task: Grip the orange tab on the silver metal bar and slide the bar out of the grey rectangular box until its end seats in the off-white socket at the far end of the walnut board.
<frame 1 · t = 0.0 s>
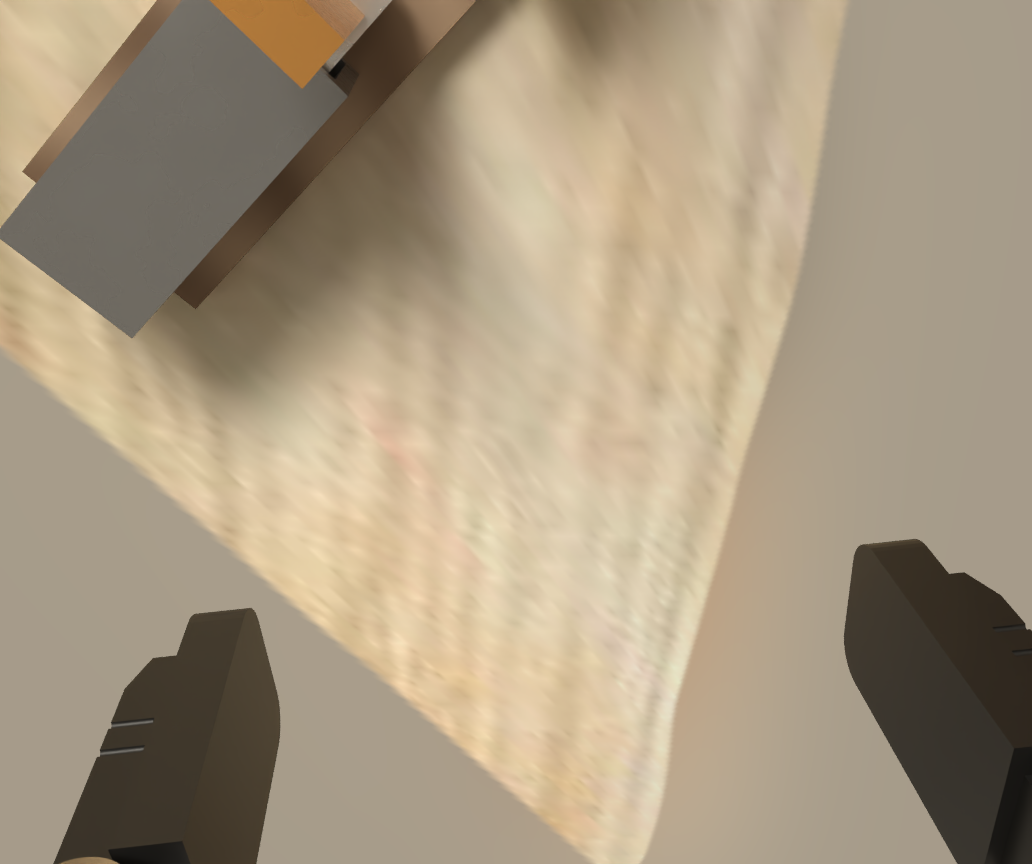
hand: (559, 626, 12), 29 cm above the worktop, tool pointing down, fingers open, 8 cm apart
grey rectangular box: (187, 150, 33), on the board, point 4 cm above the worktop
slide bolt: (194, 132, 29), point 8 cm above the worktop, slide at 0.0 cm
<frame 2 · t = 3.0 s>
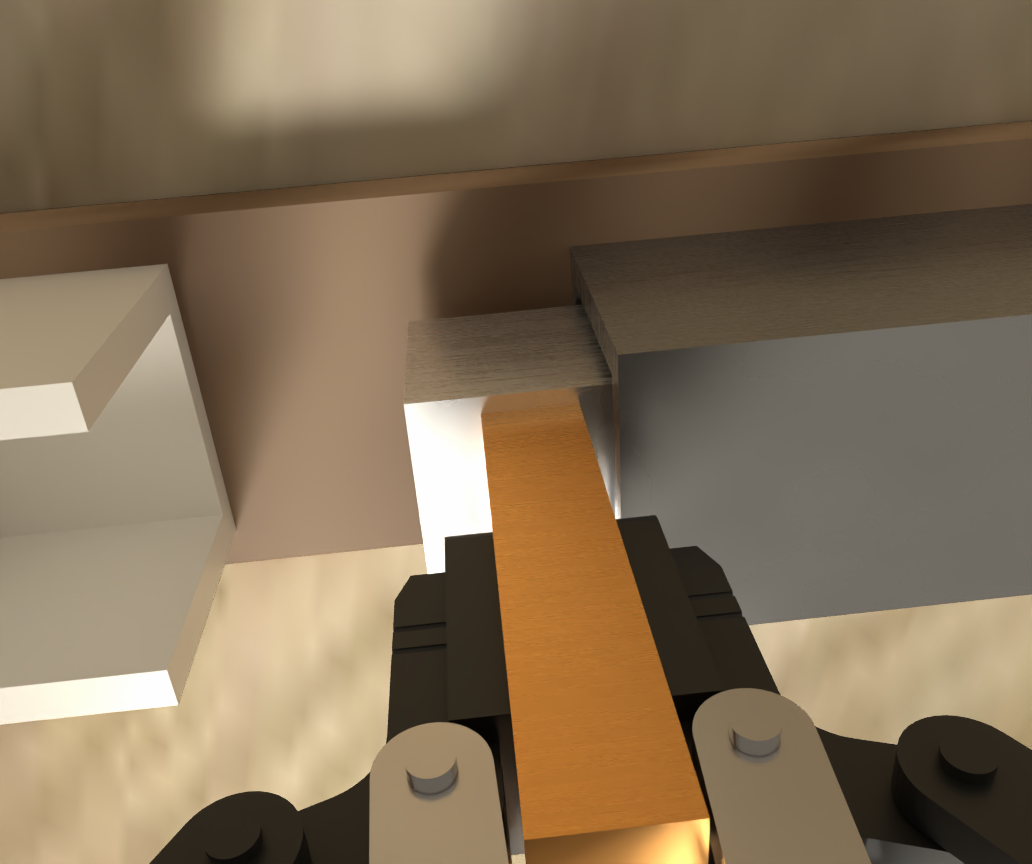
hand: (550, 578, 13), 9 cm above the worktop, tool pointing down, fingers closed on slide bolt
board: (531, 346, 21), on the worktop
grey rectangular box: (902, 399, 18), on the board, point 4 cm above the worktop
socket: (20, 488, 17), on the board, point 4 cm above the worktop
slide bolt: (898, 528, 14), point 8 cm above the worktop, slide at 0.0 cm, touching gripper
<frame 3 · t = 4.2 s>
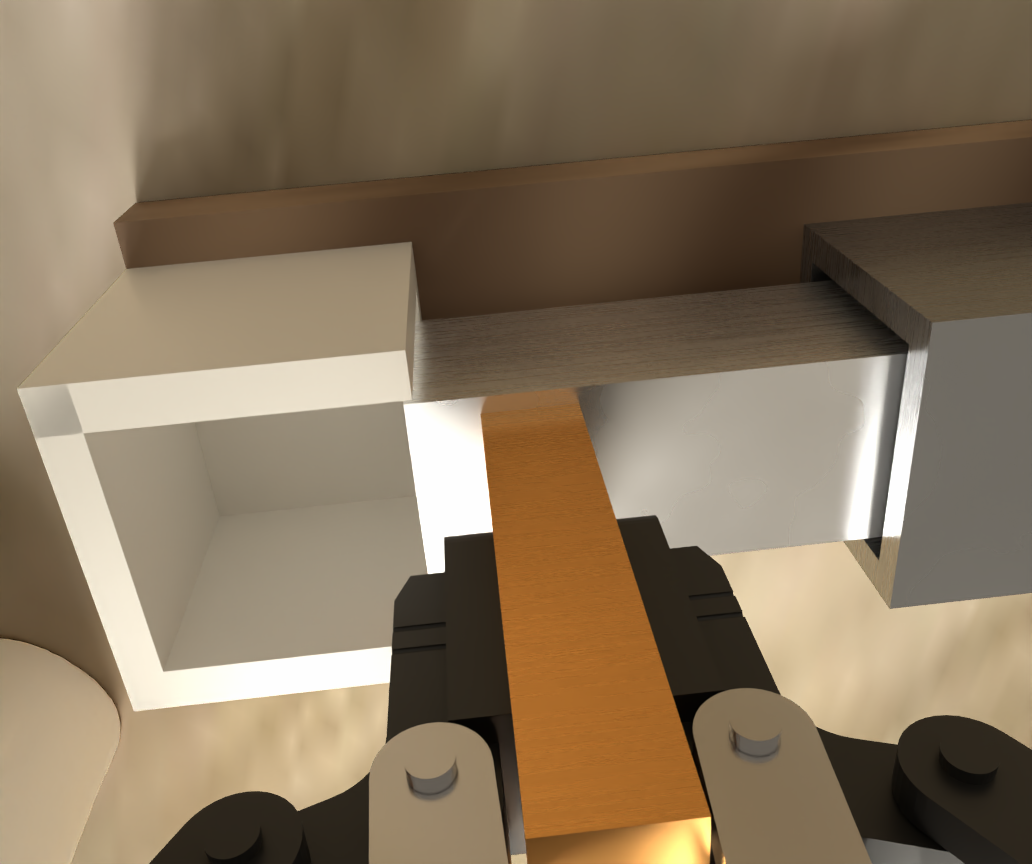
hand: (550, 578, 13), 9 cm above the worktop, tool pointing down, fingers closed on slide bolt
board: (737, 326, 21), on the worktop
socket: (281, 462, 17), on the board, point 4 cm above the worktop
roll: (8, 711, 25), on the worktop
slide bolt: (898, 527, 14), point 8 cm above the worktop, slide at 4.7 cm, touching gripper
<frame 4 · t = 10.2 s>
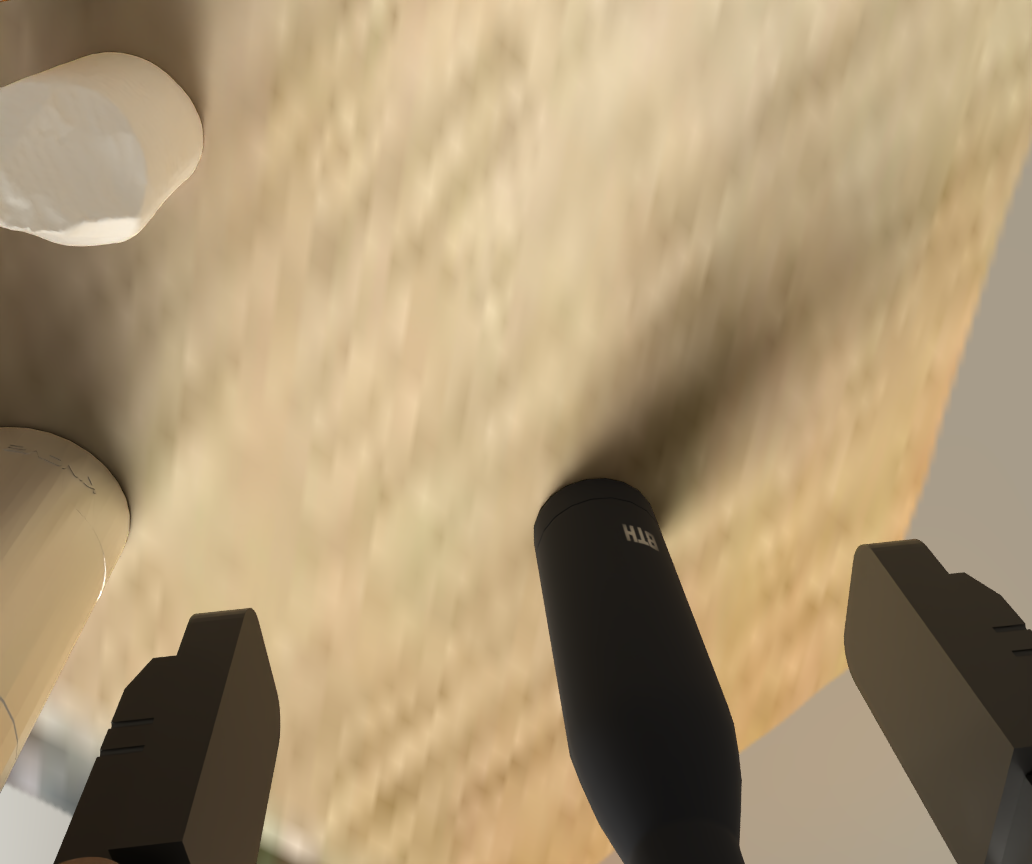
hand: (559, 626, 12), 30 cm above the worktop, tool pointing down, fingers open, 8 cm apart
black bottle: (593, 527, 49), on the worktop
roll: (129, 126, 38), on the worktop
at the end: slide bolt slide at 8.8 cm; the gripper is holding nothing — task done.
